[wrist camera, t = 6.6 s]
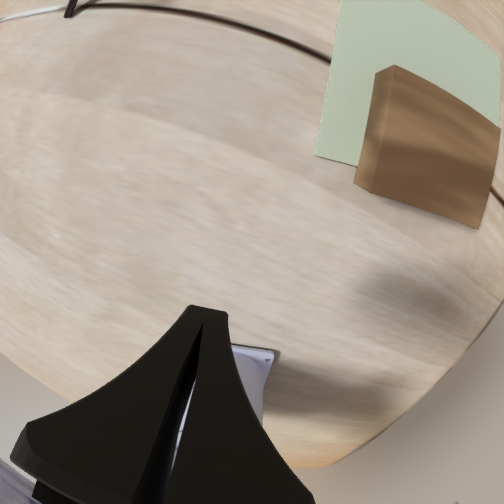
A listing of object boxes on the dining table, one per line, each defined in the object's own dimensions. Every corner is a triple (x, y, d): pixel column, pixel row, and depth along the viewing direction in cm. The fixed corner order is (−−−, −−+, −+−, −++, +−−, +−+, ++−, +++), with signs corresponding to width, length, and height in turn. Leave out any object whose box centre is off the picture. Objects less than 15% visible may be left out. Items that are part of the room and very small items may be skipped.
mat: (477, 211, 17) (480, 213, 17) (313, 154, 16) (314, 155, 16) (497, 56, 11) (500, 56, 10) (343, -30, 10) (345, -32, 10)
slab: (478, 229, 14) (500, 129, 11) (369, 192, 14) (394, 64, 11) (456, 216, 17) (476, 126, 14) (353, 183, 17) (375, 73, 13)
